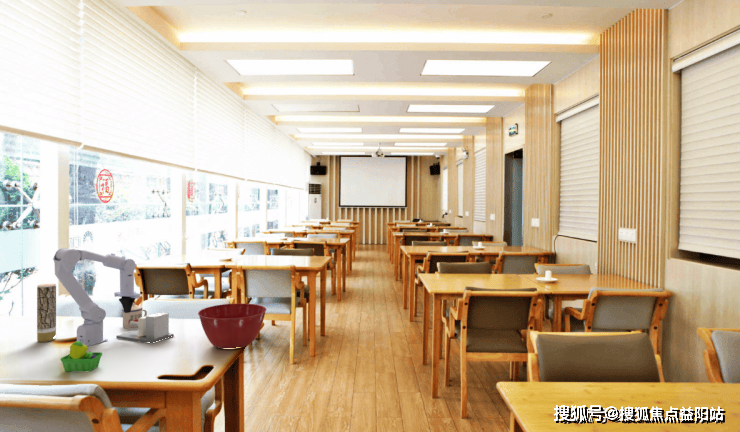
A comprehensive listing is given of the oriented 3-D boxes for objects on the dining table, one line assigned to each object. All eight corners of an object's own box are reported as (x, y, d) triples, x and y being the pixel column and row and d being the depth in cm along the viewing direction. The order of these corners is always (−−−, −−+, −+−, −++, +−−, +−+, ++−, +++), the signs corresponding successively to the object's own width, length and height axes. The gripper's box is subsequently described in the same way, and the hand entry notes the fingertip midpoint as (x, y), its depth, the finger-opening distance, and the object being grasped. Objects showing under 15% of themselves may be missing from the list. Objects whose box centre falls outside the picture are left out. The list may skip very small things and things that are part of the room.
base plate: (152, 343, 188) (152, 340, 188) (116, 338, 196) (116, 335, 196) (173, 336, 200) (173, 333, 200) (139, 331, 208) (139, 329, 208)
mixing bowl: (278, 346, 186) (278, 310, 186) (213, 360, 167) (213, 321, 167) (249, 332, 207) (249, 300, 207) (188, 344, 188) (188, 309, 188)
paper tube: (45, 343, 189) (45, 286, 189) (33, 342, 190) (33, 285, 190) (59, 338, 195) (59, 284, 195) (47, 337, 197) (47, 283, 197)
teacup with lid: (128, 329, 212) (128, 305, 212) (118, 326, 217) (118, 303, 217) (151, 324, 222) (151, 301, 222) (141, 321, 227) (141, 299, 227)
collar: (142, 336, 194) (142, 318, 194) (138, 335, 195) (138, 318, 195) (155, 332, 200) (155, 315, 200) (151, 331, 201) (151, 314, 201)
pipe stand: (154, 339, 191) (154, 317, 191) (123, 335, 197) (123, 313, 197) (168, 334, 198) (168, 313, 198) (138, 330, 205) (138, 309, 205)
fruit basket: (103, 365, 161) (103, 335, 161) (89, 374, 153) (89, 342, 153) (72, 365, 161) (73, 335, 161) (56, 374, 152) (56, 342, 152)
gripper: (145, 283, 203) (146, 311, 204) (123, 281, 209) (124, 309, 209) (132, 286, 197) (133, 315, 197) (110, 284, 202) (110, 312, 202)
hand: (127, 312), depth 203 cm, fingers closed
